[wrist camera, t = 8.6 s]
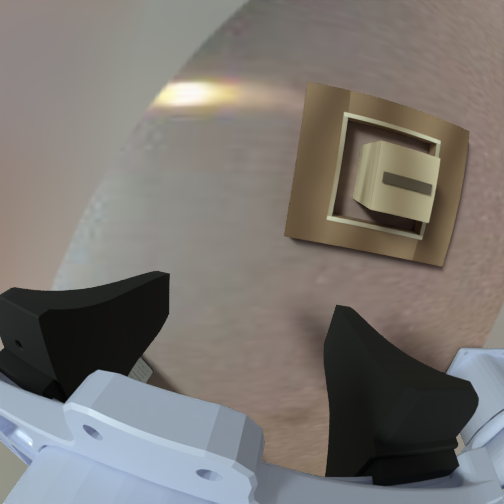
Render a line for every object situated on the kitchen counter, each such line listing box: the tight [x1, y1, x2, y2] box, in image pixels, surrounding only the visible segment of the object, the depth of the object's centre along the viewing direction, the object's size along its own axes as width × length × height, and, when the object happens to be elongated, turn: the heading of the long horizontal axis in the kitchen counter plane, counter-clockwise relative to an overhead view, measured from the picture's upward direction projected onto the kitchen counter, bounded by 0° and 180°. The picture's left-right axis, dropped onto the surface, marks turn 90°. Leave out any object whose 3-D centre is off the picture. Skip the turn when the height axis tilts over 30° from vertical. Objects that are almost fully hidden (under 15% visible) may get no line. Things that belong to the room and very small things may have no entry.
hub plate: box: [284, 82, 469, 267], centre depth 18 cm, size 13×11×1 cm
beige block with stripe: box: [353, 141, 440, 223], centre depth 17 cm, size 4×4×5 cm
